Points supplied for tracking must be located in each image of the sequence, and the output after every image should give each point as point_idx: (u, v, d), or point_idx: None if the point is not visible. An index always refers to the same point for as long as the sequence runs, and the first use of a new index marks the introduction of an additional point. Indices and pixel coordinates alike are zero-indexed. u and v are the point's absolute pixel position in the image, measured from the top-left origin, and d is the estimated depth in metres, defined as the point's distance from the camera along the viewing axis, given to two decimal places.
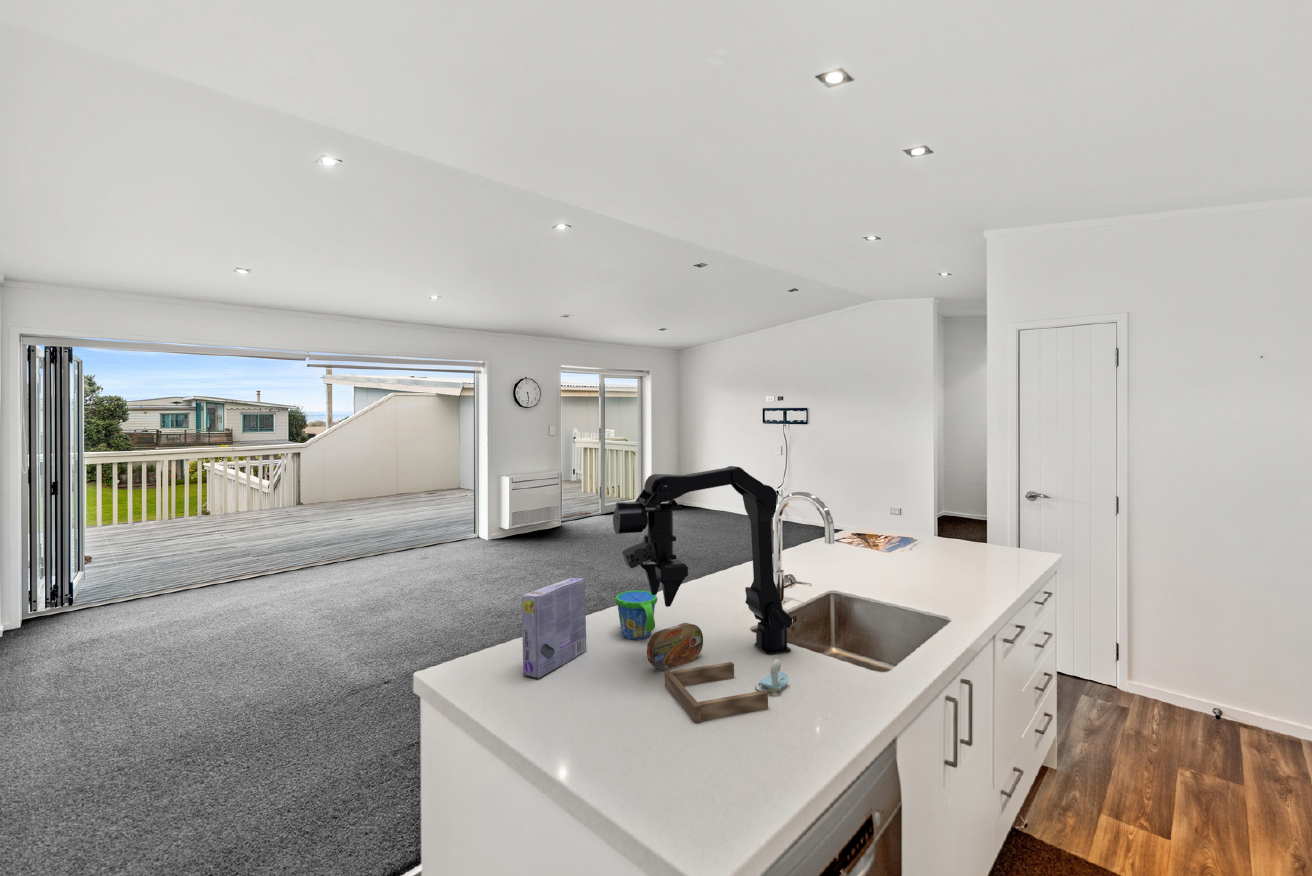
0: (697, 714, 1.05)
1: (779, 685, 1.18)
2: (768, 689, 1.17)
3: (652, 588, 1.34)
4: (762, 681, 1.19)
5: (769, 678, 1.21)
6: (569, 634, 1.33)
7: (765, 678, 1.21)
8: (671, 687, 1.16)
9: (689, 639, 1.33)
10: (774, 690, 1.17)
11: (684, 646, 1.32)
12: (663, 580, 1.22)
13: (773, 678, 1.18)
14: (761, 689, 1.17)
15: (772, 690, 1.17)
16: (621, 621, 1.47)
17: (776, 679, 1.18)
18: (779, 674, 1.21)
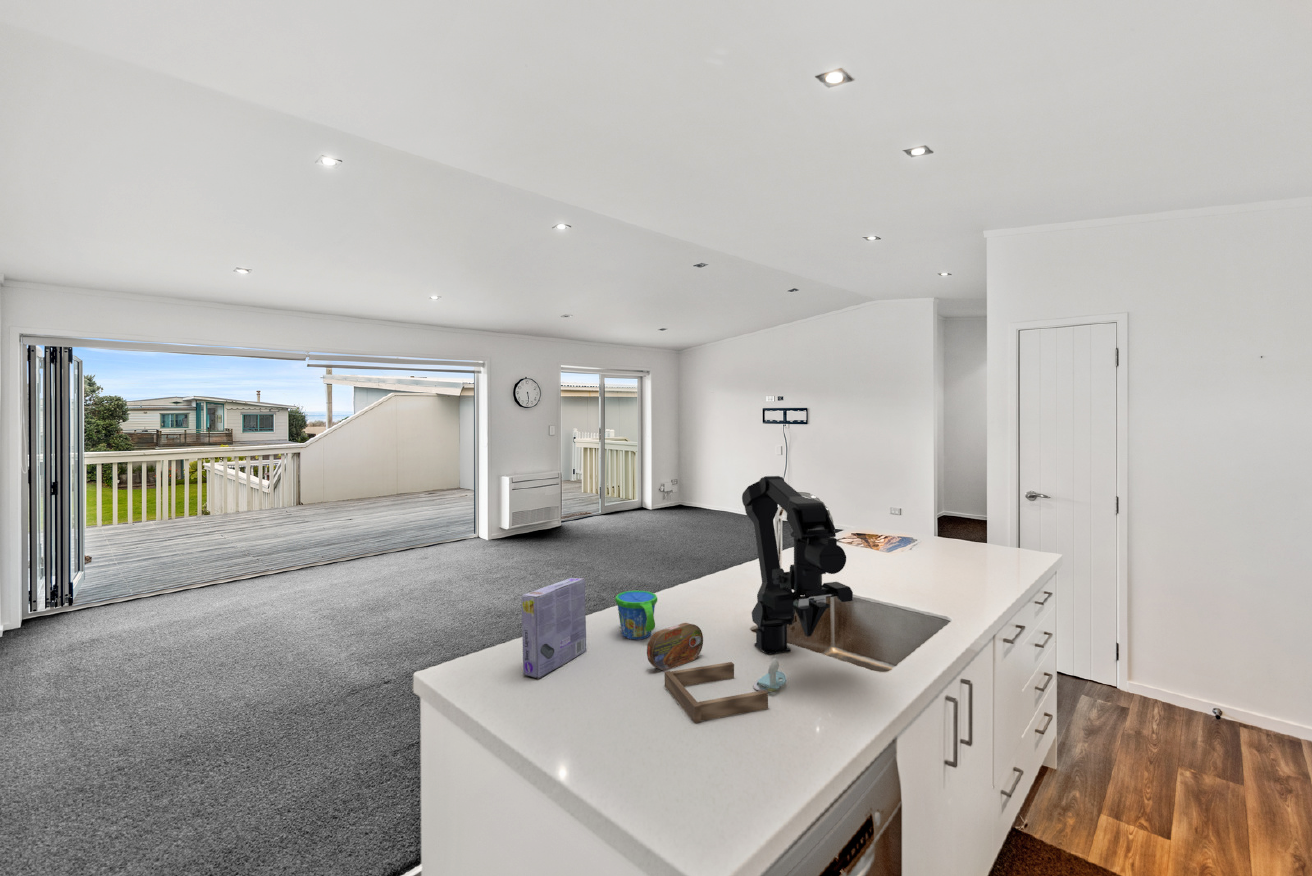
0: (697, 714, 1.05)
1: (777, 684, 1.18)
2: (766, 688, 1.17)
3: None
4: (760, 680, 1.20)
5: (767, 677, 1.21)
6: (569, 634, 1.33)
7: (763, 677, 1.21)
8: (671, 687, 1.16)
9: (689, 639, 1.33)
10: (772, 689, 1.18)
11: (684, 646, 1.32)
12: None
13: (771, 677, 1.18)
14: (759, 688, 1.17)
15: (770, 689, 1.17)
16: (621, 621, 1.47)
17: (774, 678, 1.18)
18: (777, 673, 1.22)
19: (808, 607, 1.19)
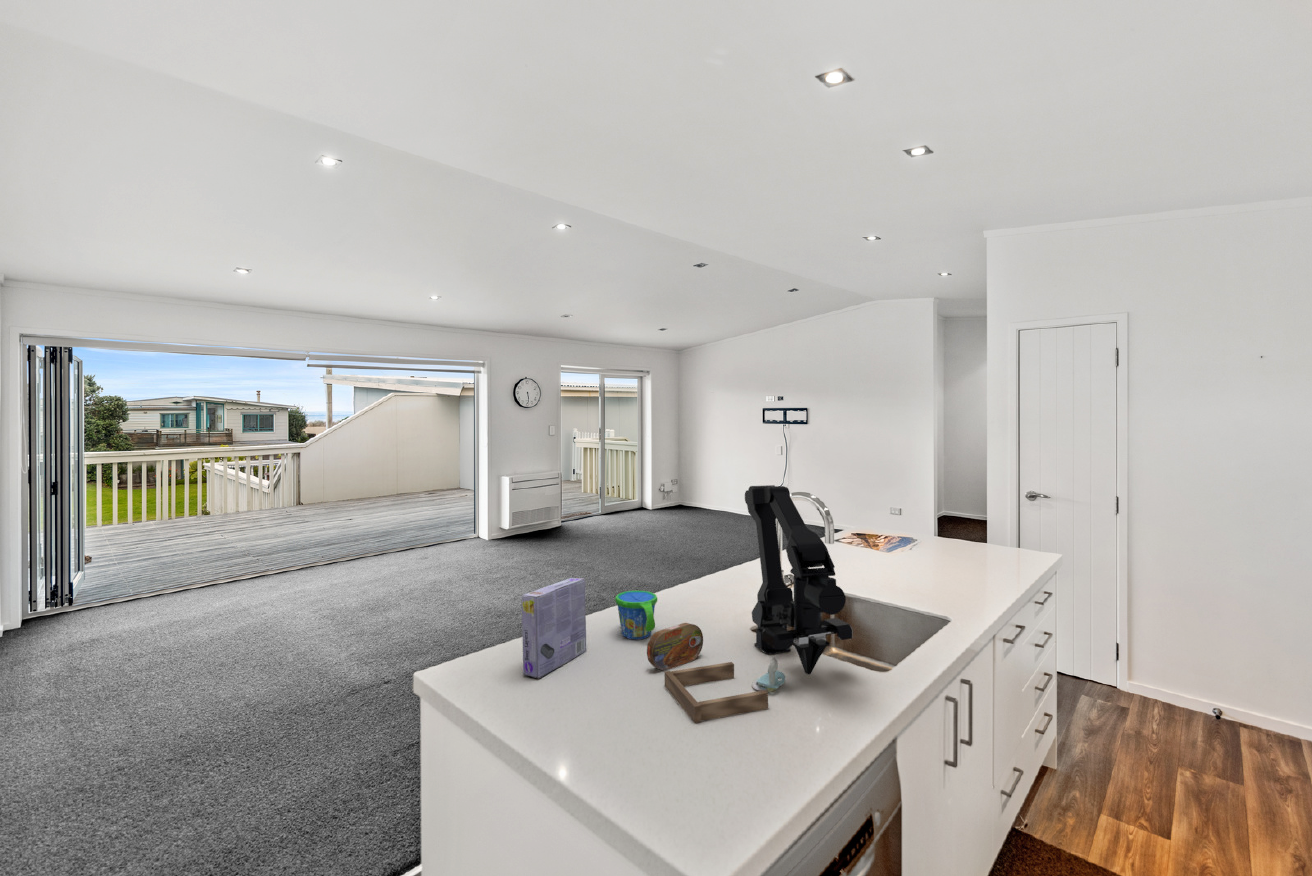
0: (697, 714, 1.05)
1: (776, 684, 1.19)
2: (765, 688, 1.18)
3: None
4: (759, 680, 1.20)
5: (766, 677, 1.21)
6: (569, 634, 1.33)
7: (762, 677, 1.21)
8: (671, 687, 1.16)
9: (689, 639, 1.33)
10: (771, 689, 1.18)
11: (684, 646, 1.32)
12: None
13: (770, 677, 1.18)
14: (758, 688, 1.18)
15: (769, 689, 1.18)
16: (621, 621, 1.47)
17: (773, 678, 1.19)
18: (776, 673, 1.22)
19: (808, 645, 1.19)
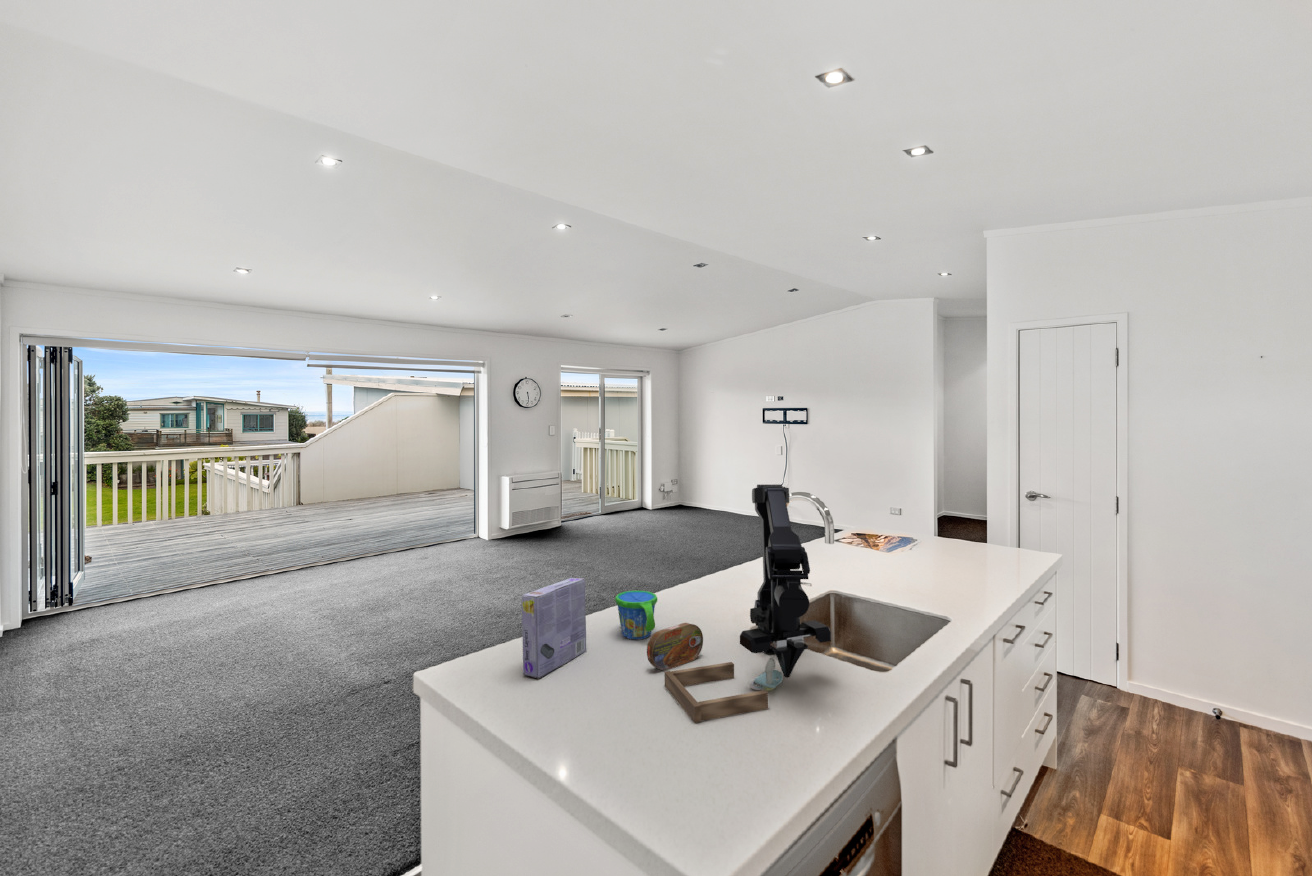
0: (697, 714, 1.05)
1: (773, 684, 1.19)
2: (762, 688, 1.18)
3: None
4: (757, 680, 1.20)
5: (764, 677, 1.21)
6: (569, 634, 1.33)
7: (760, 677, 1.21)
8: (671, 687, 1.16)
9: (689, 639, 1.33)
10: (768, 689, 1.18)
11: (684, 646, 1.32)
12: None
13: (768, 677, 1.18)
14: (756, 688, 1.18)
15: (766, 689, 1.18)
16: (621, 621, 1.47)
17: (771, 678, 1.19)
18: (774, 673, 1.22)
19: (786, 649, 1.17)
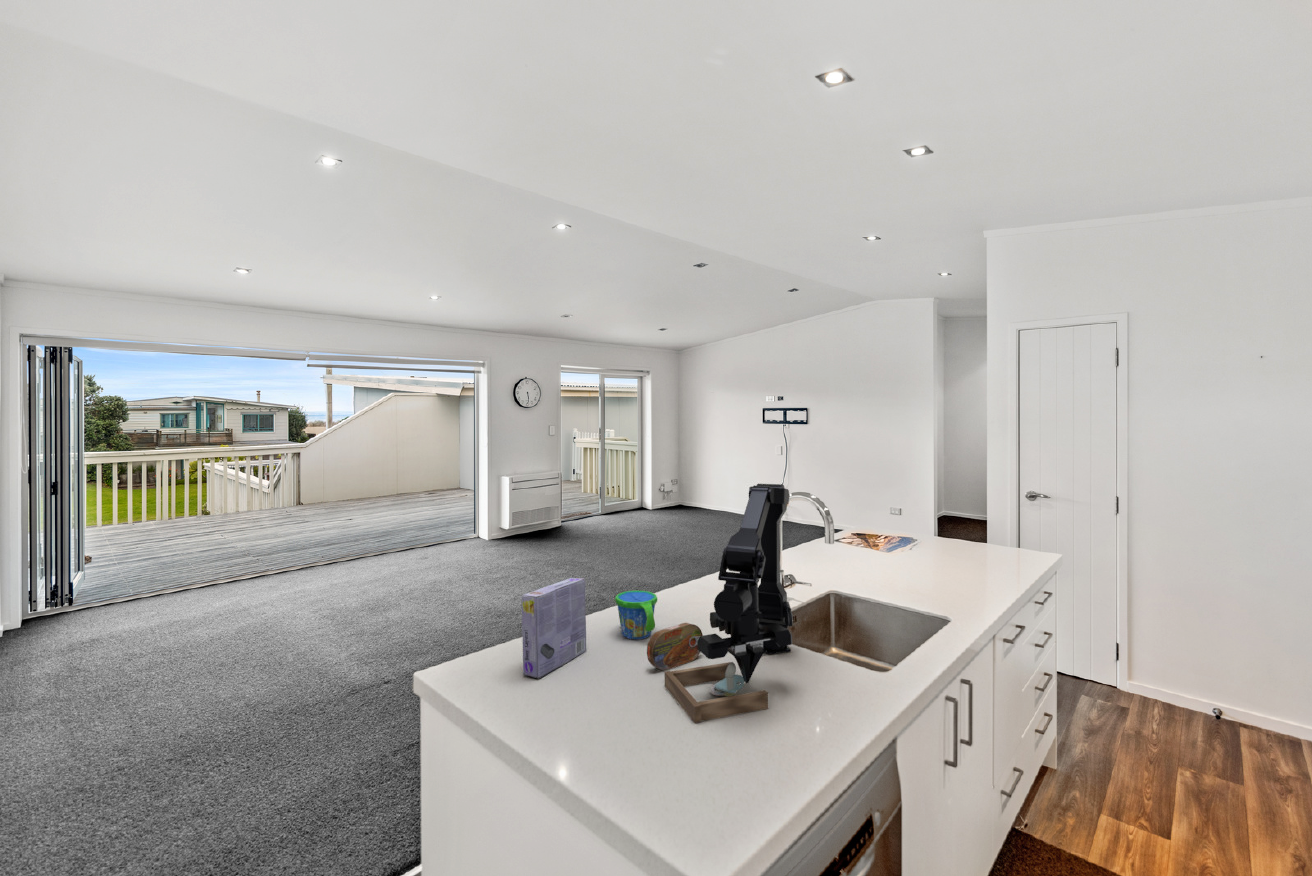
0: (697, 714, 1.05)
1: (734, 689, 1.16)
2: (723, 693, 1.15)
3: None
4: (718, 685, 1.17)
5: (725, 681, 1.19)
6: (569, 634, 1.33)
7: (721, 681, 1.19)
8: (671, 687, 1.16)
9: (689, 639, 1.33)
10: (729, 694, 1.15)
11: (684, 646, 1.32)
12: None
13: (728, 682, 1.16)
14: (716, 693, 1.15)
15: (727, 694, 1.15)
16: (621, 621, 1.47)
17: (731, 683, 1.16)
18: (736, 677, 1.19)
19: (745, 653, 1.14)
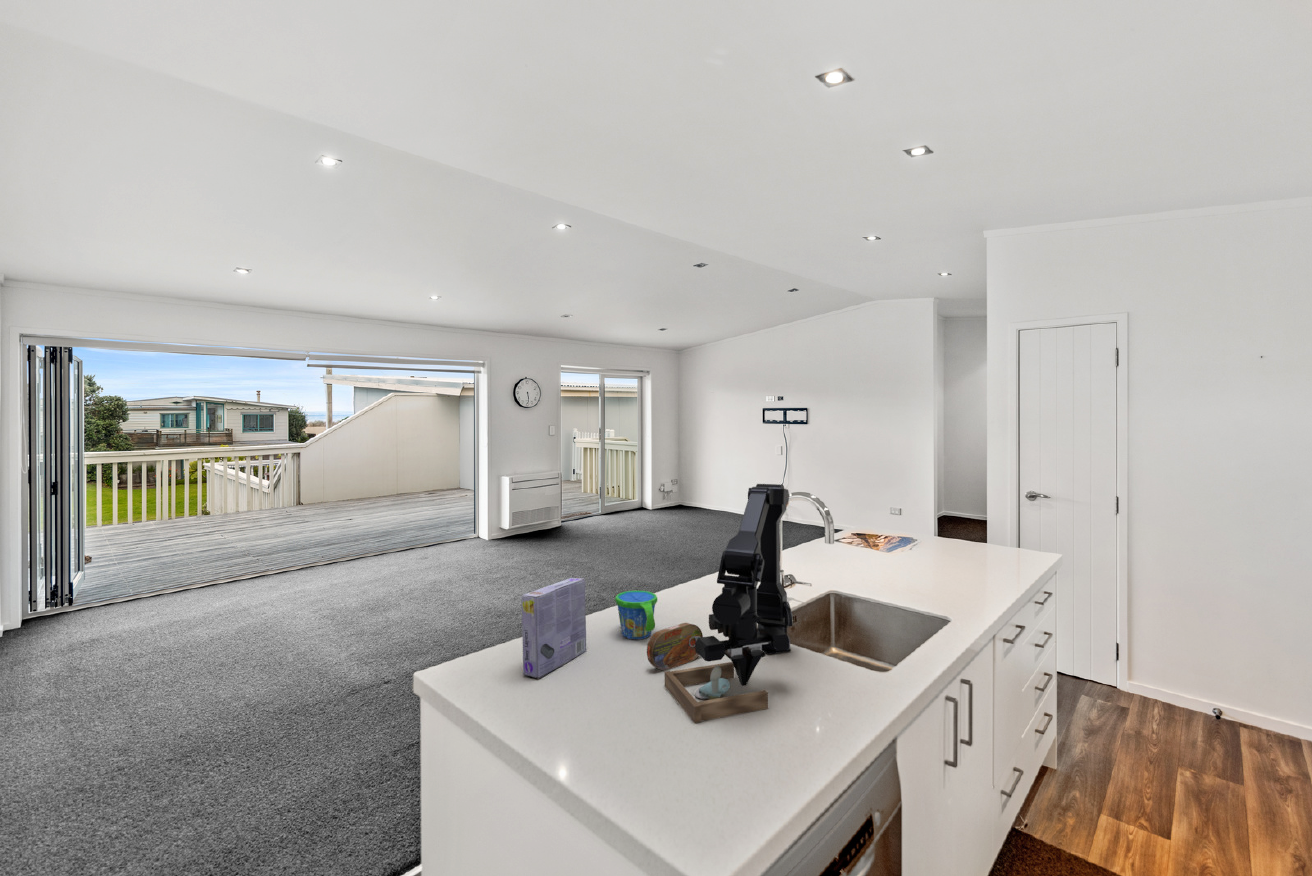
0: (697, 714, 1.05)
1: (719, 692, 1.15)
2: (707, 696, 1.14)
3: None
4: (703, 688, 1.17)
5: (711, 685, 1.18)
6: (569, 634, 1.33)
7: (706, 685, 1.18)
8: (671, 687, 1.16)
9: (689, 639, 1.33)
10: (713, 697, 1.14)
11: (684, 646, 1.32)
12: None
13: (713, 685, 1.15)
14: (700, 696, 1.14)
15: (711, 697, 1.14)
16: (621, 621, 1.47)
17: (716, 686, 1.15)
18: (721, 681, 1.18)
19: (741, 657, 1.14)
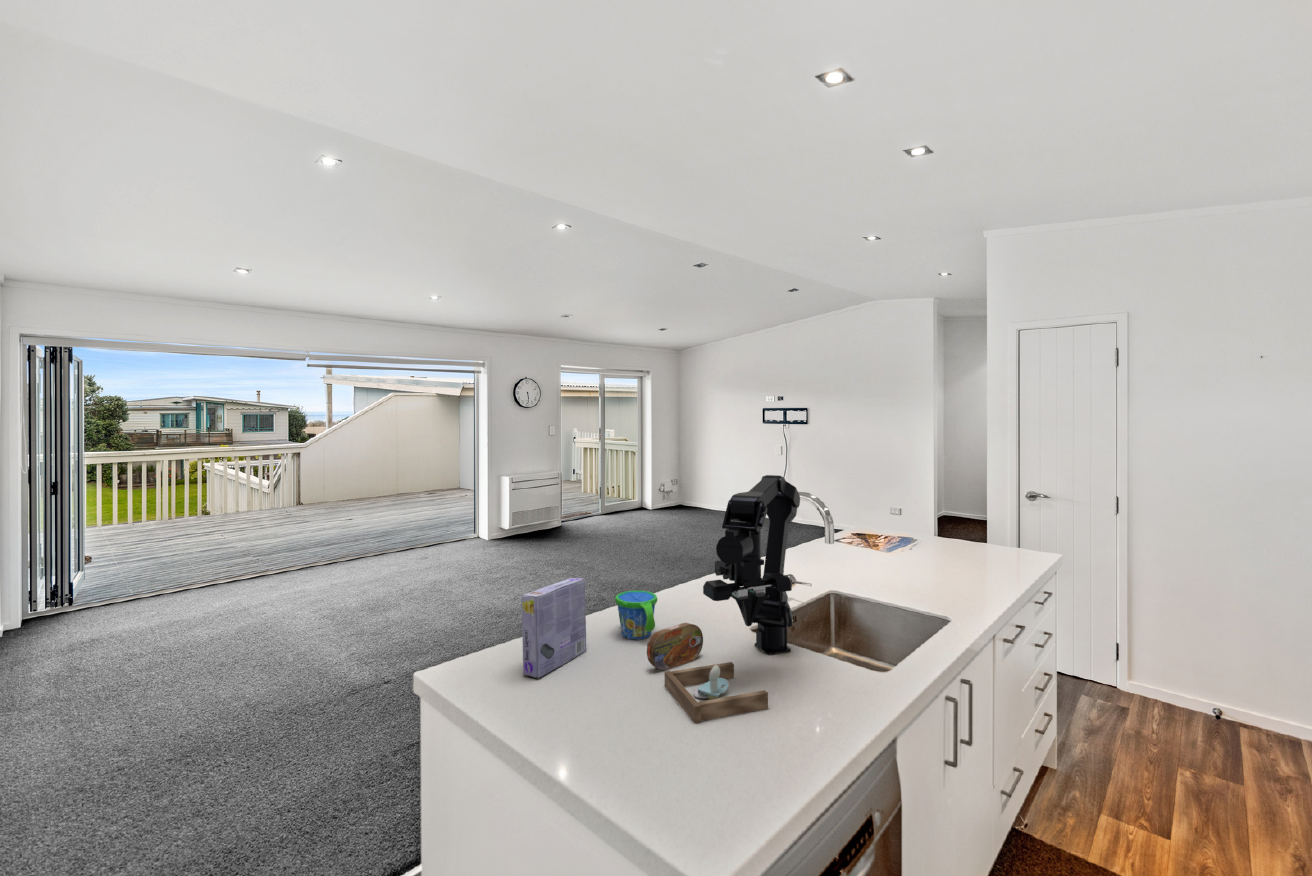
0: (697, 714, 1.05)
1: (718, 692, 1.15)
2: (706, 696, 1.14)
3: None
4: (701, 687, 1.17)
5: (709, 684, 1.18)
6: (569, 634, 1.33)
7: (705, 684, 1.18)
8: (671, 687, 1.16)
9: (689, 639, 1.33)
10: (712, 697, 1.14)
11: (684, 646, 1.32)
12: None
13: (712, 685, 1.15)
14: (699, 696, 1.14)
15: (710, 697, 1.14)
16: (621, 621, 1.47)
17: (715, 686, 1.15)
18: (720, 680, 1.19)
19: (747, 597, 1.22)
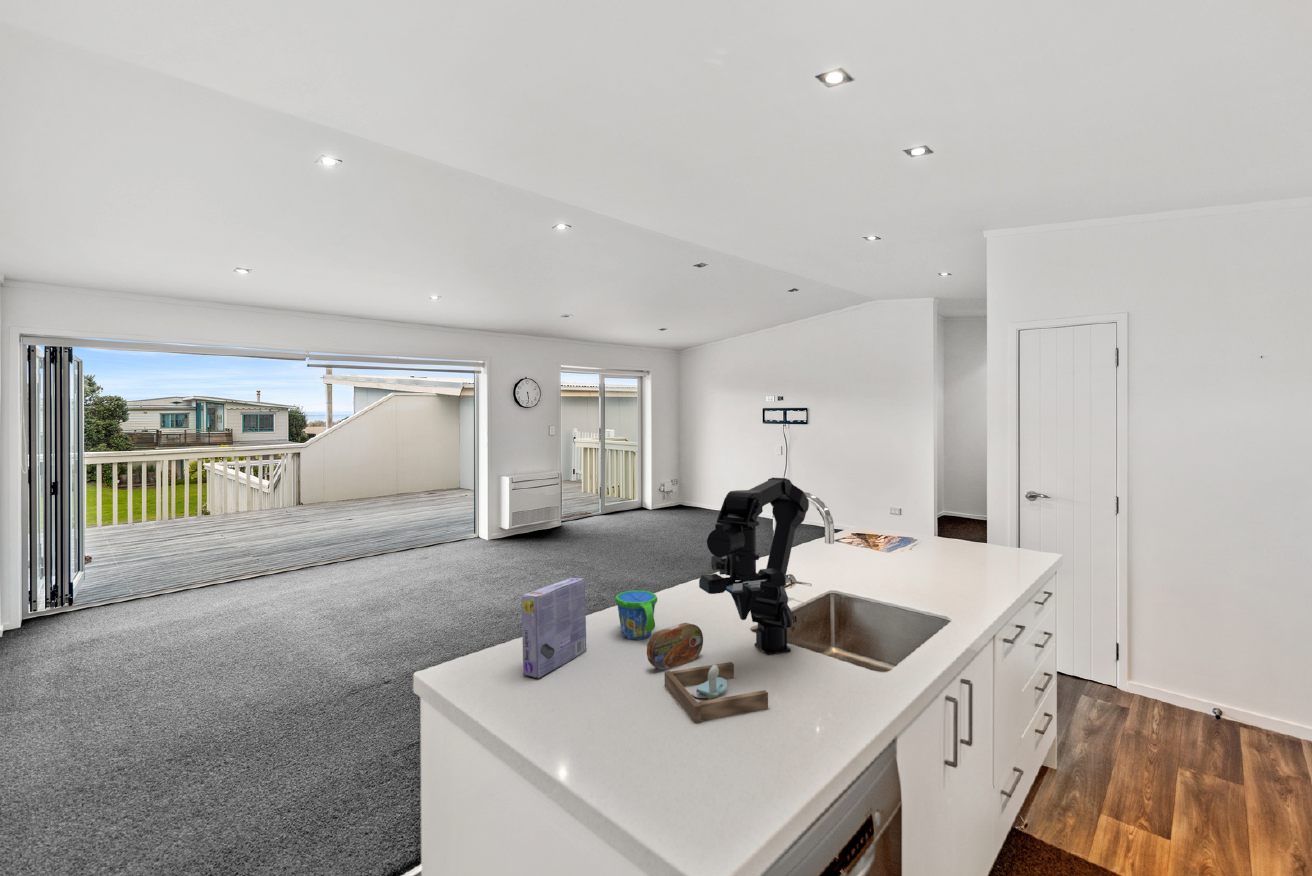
0: (697, 714, 1.05)
1: (717, 691, 1.16)
2: (705, 695, 1.15)
3: None
4: (700, 687, 1.17)
5: (708, 684, 1.18)
6: (569, 634, 1.33)
7: (704, 684, 1.18)
8: (671, 687, 1.16)
9: (689, 639, 1.33)
10: (711, 697, 1.15)
11: (684, 646, 1.32)
12: None
13: (710, 684, 1.15)
14: (697, 695, 1.15)
15: (709, 696, 1.15)
16: (621, 621, 1.47)
17: (713, 685, 1.16)
18: (719, 680, 1.19)
19: (741, 591, 1.25)
